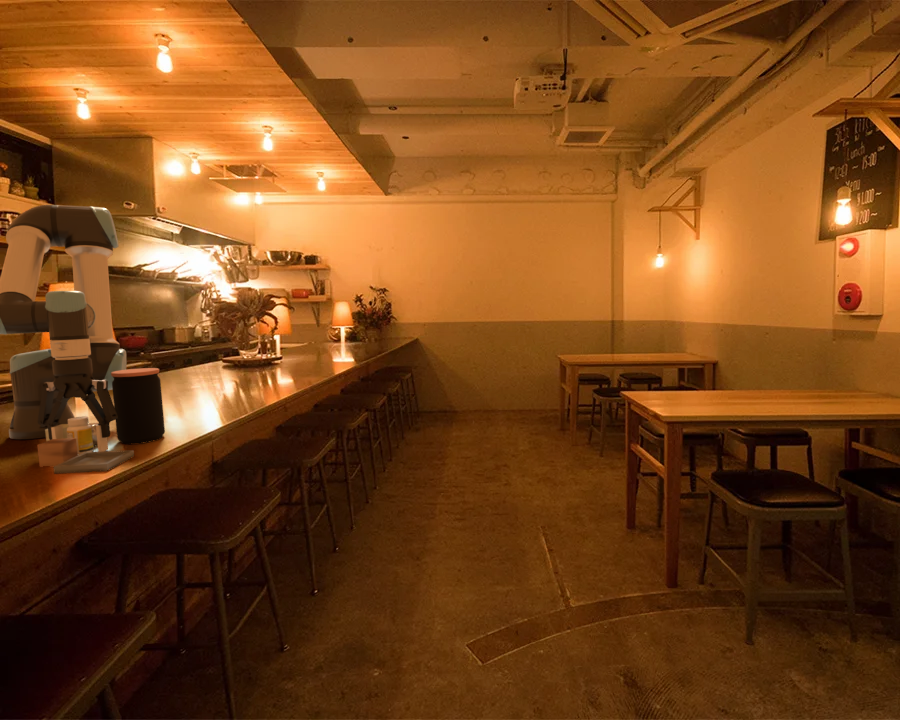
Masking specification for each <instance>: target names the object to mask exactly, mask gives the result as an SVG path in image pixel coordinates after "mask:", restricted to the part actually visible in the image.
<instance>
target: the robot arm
mask: <svg viewBox="0 0 900 720" xmlns="http://www.w3.org/2000/svg"><path fill="white" fill-rule="evenodd" d="M5 239H6V243H7V245H8V247H7V251H6V255H5V257H4V262H3V266H2V270H1V273H0V335H12V334H13V335H15V334H34V333H35V334H37V333H49V334H48V335H49V346H50V348H46V349H41V350H35V351H34V350H33V351H27V352H23V353H18V354H17V353H16V354H15V355H12V356H11V357H10V359H9V375H10V382H11V388H12V397H13V399H12V400H13V405H14V410H13V414H12V418H11V421H10V425H9V428H8V434H9V435H8V437H9V438H10V439H11V440H34V439H43V438H46V433H45V430H46V429H48V434H49V439H50V440H52V439H64V438H63V428H62V425H61V424H68V419H70V418H74V417H75V415H74V413H73V411H72V409H71V407H70V405H69V403H68V402H69V401H70V399H72V398H77V399H79V398H80V399H81V400H82V401H83V402H84V403H85V405H86V406H87V407H88V409H89V411H90V412H91V413H92V414H93V416H94V418H95V420H96V421H97V423H99V424H98V425H96V434H97V444H98V445H97V452H104V451H108V450H109V444H108V437H110V436H111V428H110V423H111V422H112V421H116V419H117V418H118V416H117V413H116V411H115V408H114V401H113V399H112V397H111V394H110V391H113V389H112V382H113V380H114V378H113V377H112V376H111V372H114V371H120V370H127V364H128V363H127V351H126V350H125V349H123V348H121V346H120V342H118V341H117V340H115V338H114V333H113V321H112V318H113V317H112V307H111V306H112V304H111V292H110V291H111V290H110V279H109V277H110V276H109V263H108V262H109V260H108V259H109V258H111V257H112V256H113V255H114V249H117V248H119V240H118V236H117V231H116V227H115V223H114V219H113V215H112V213H111V212H110V211H109V209H107V208H105V207H99V206H92V205H90V206H83V205H62V204H61V205H60V204H41V205H38V206H37V205H36V206H33V207H31V208H29V209H27V210H25V211H23V212H22V213H20V214H19V215H18V216H16V217H15V218H14V219H13V221H12V222H11V223H10V225H9V226H8V228H7V230H6V235H5ZM53 247H60V248H62V247H64V252H65V253H66V254H67V255H68V256H70V257H71V263H72V274H73V275H72V276H73V289H74V290H51V291H48V292H46V293H45V301H44V300H43V301H38V300H36V296H37V293H38V287H39V282H40V275H41V272H42V267H43V261H44V257H45V256H44V255H45V254H46V253H48V252H49V250H50V248H53ZM95 392H96V393H95ZM96 394H97V396H98V399H99V400H97V397H96Z"/></svg>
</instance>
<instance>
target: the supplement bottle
mask: <svg viewBox="0 0 900 720" xmlns="http://www.w3.org/2000/svg"><path fill="white" fill-rule="evenodd" d="M89 422H90V421H89V417H88V416H86V415H85V416H74V418H70V419H68V425H69V427H68V428H67V437H68V438H76V442H77V451H78V455H80V454H82V453H85V452H94V450H95V446H93V438H92V429H91V425H89V424H90V423H89Z"/></svg>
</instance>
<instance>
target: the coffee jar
mask: <svg viewBox="0 0 900 720" xmlns="http://www.w3.org/2000/svg"><path fill="white" fill-rule="evenodd" d="M159 373H160V368H157V367H149V368H148V367H145V368H143V367H142V368H140V367H139V368H130V369H126V370H120V371H114V372H111V376H112V377H113V378H114V380H113V382H112V389H113V390H112V396H113V398H112V400H113V405H114V408H115V411H116V413H117V416H118V418H117V419H116V420H115V427H116V428H115V430H116V437H117V440H118V441H119V442H120V443H121V444H123V443H124V445H132V444H131V443H139V444H144V443H143V442H146V443H150V442H149V441H151V442H153V440H155V441H158V440H160V439H162V438H163V436H164V434H165V432H166V429H165V420H164V406H163V395H162V385H161V383H162V382H161V378H160V377H159ZM157 439H158V440H157Z"/></svg>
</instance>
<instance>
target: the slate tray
mask: <svg viewBox="0 0 900 720" xmlns="http://www.w3.org/2000/svg"><path fill="white" fill-rule="evenodd" d="M133 456H134V457H135V451H134V450H133V449H131V450H109V451H108V450H106V451H104V452H98V451H92V452H85V453H82V454H80V455H78V456H76V457H74V458H71V459H69V460H67V461H65V462H63V463H60V464H58V465H56V466H53V474H54V475H55V474H72V473H73V474H74V473H76V472H77V473H93V472H92V471H97V472H108V471H107V470H109V469H110V470H112V469H114V468H116V467H117V465H118V466H120V465H121V464H123V463H125V462H127V461H128V459H129V460H130V458H131V457H132V458H134V457H133ZM132 458H131V459H132ZM126 460H127V461H126ZM124 461H125V462H124ZM122 462H123V463H122ZM120 463H121V464H120ZM119 464H120V465H119ZM115 466H116V467H115ZM113 467H114V468H113ZM111 468H112V469H111ZM110 470H109V471H110Z"/></svg>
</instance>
